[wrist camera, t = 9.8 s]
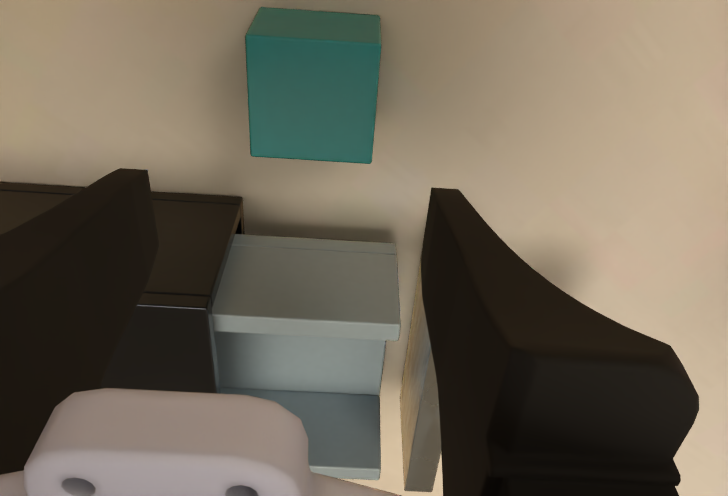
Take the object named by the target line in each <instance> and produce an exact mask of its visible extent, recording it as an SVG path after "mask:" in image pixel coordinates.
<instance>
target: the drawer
mask: <svg viewBox="0 0 728 496" xmlns="http://www.w3.org/2000/svg"><path fill="white" fill-rule="evenodd" d="M212 315H213V325H214V335H215V344H216V354H217V364H218V373H219V383H220V393H221V394H236V395H249V396H253V397H257V398H262V399H266V400H271V401H275V402H277V403H278V404H280V405H281V406H282V407H284V408H285V409H287V410H288V411H290V412H291V413H292V414H294V415H295V416H297V417H298V418H300V419H301V422H302V424H303V427H304V429H305V432H306V434H307V437H308V463H309V468H310V470H311V471H312V472H315V473H318V474H322V475H326V476H330V477H334V478H341V479H363V480H379V478H380V471H381V450H380V397H379V396H380V388H381V379H382V371H383V363H384V355H385V346H386V341H398V340H399V334H400V327H401V322H400V304H399V287H398V269H397V253H396V244H394V243H380V242H363V241H346V240H329V239H312V238H296V237H279V236H262V235H245V234H235V236H234V240H233V243H232V246H231V249H230V252H229V256H228V259H227V262H226V265H225V269H224V272H223V275H222V278H221V282H220V285H219V288H218V291H217V295H216V298H215V301H214V304H213V307H212ZM400 411H401V432H402V452H403V473H404V490H405V491H419V492H432V490H433V485H434V481H435V476H436V472H437V468H438V463H439V459H440V454H441V433H440V416H439V400H438V387H437V380H436V372H435V367H434V361H433V355H432V350H431V344H430V339H429V333H428V328H427V322H426V316H425V311H424V305H423V299H422V285H421V261H420V268H419V274H418V281H417V287H416V294H415V301H414V307H413V314H412V321H411V327H410V334H409V341H408V347H407V354H406V360H405V367H404V374H403V380H402V387H401V394H400Z"/></svg>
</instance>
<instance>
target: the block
mask: <svg viewBox="0 0 728 496" xmlns="http://www.w3.org/2000/svg"><path fill="white" fill-rule="evenodd" d="M245 44H246V66H247V88H248V110H249V132H250V154H251V156H254V157H270V158H286V159H302V160H318V161H334V162H349V163H365V164H370V163H371V162H372V152H373V140H374V128H375V116H376V104H377V92H378V80H379V68H380V56H381V27H380V16H378V15H365V14H351V13H337V12H323V11H309V10H295V9H280V8H266V7H261V8H259V10H258V12H257V14H256V16H255V18H254V20H253V22H252V24H251V26H250V28H249V30H248V31H247V33H246V36H245Z"/></svg>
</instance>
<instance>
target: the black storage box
mask: <svg viewBox="0 0 728 496" xmlns="http://www.w3.org/2000/svg"><path fill="white" fill-rule="evenodd" d="M84 188H85V187H69V186H52V185H36V184H20V183H3V182H0V235H1V234H3V233H5V232H7V231H10V230H12V229H14V228H16V227H18V226H19V225H21V224H23V223H25V222H27V221H29V220H31V219H32V218H34V217H36V216H38V215H40V214H42V213H43V212H45V211H47V210H49V209H51V208H53V207H54V206H56V205H58V204H59V203H61V202H63V201H64V200H66V199H68V198H69V197H71V196H73V195H74V194H76V193H78V192H79V191H81V190H83V189H84ZM151 196H152V202H153V209H154V215H155V221H156V228H157V234H158V240H159V247H158V251H157V254H156V258H155V262H154V265H153V268H152V271H151V274H150V278H149V281H148V283H147V285H146V287H145V289H144V292H143V294H142V296H141V298H140V300H139V302H138V304H137V306H136V308H135V311H134V313H133V315H132V317H131V319H130V321H129V323H128V325H127V327H126V329H125V331H124V333H123V335H122V337H121V339H120V341H119V343H118V345H117V348H116V350H115V352H114V354H113V356H112V358H111V360H110V363H109V365H108V368H107V370H106V372H105V375H104V378H103V381H102V384H101V387H100V389H104V388H118V389H137V390H157V391H177V392H196V393H216V394H221V393H220V383H219V373H218V364H217V354H216V344H215V335H214V325H213V315H212V307H213V304H214V301H215V298H216V295H217V291H218V288H219V285H220V282H221V278H222V275H223V272H224V269H225V265H226V262H227V259H228V256H229V252H230V249H231V246H232V243H233V240H234V236H235V234H245V233H244V216H243V199H242V197H233V196H216V195H200V194H184V193H167V192H151Z"/></svg>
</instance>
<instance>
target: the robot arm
mask: <svg viewBox="0 0 728 496" xmlns="http://www.w3.org/2000/svg"><path fill="white" fill-rule="evenodd" d="M158 247H159V240H158V234H157V228H156V221H155V215H154V209H153V202H152V196H151V190H150V183H149V177H148V170H138V169H122V168H120V169H118V170H115V171H113V172H111V173H110V174H108V175H106V176H104V177H103V178H101V179H99V180H98V181H96V182H94V183H93V184H91V185H89V186H88V187H86V188H84V189H83V190H81V191H79V192H78V193H76V194H74V195H73V196H71V197H69V198H68V199H66V200H64V201H63V202H61V203H59V204H58V205H56V206H54V207H53V208H51V209H49V210H47V211H45V212H43V213H42V214H40V215H38V216H36V217H34V218H32V219H31V220H29V221H27V222H25V223H23V224H21V225H19V226H18V227H16V228H14V229H12V230H10V231H7V232H5V233H3V234H1V235H0V496H401V495H397V494H394V493H390V492H386V491H382V490H379V489H375V488H371V487H367V486H364V485H360V484H356V483H352V482H349V481H345V480H341V479H337V478H334V477H330V476H326V475H322V474H318V473H315V472H312V471H311V470H310V468H309V463H308V437H307V434H306V432H305V429H304V427H303V424H302V422H301V419H300V418H298V417H297V416H295V415H294V414H292V413H291V412H290V411H288V410H287V409H285V408H284V407H282V406H281V405H280V404H278V403H277V402H275V401H271V400H266V399H262V398H257V397H253V396H249V395H236V394H216V393H196V392H177V391H157V390H137V389H118V388H104V389H100V387H101V384H102V381H103V378H104V375H105V372H106V370H107V368H108V365H109V363H110V360H111V358H112V356H113V354H114V352H115V350H116V348H117V345H118V343H119V341H120V339H121V337H122V335H123V333H124V331H125V329H126V327H127V325H128V323H129V321H130V319H131V317H132V315H133V313H134V311H135V308H136V306H137V304H138V302H139V300H140V298H141V296H142V294H143V292H144V289H145V287H146V285H147V283H148V281H149V278H150V274H151V271H152V268H153V265H154V262H155V258H156V254H157V251H158ZM421 285H422V299H423V305H424V311H425V316H426V322H427V328H428V333H429V339H430V344H431V350H432V355H433V361H434V367H435V372H436V380H437V387H438V400H439V416H440V433H441V452H442V474H443V496H679V495H678V492H677V490H676V488H675V486H678V484H679V483H680V474H679V472H678V469H677V467H676V465H675V463H674V461H673V457H674V456H675V454H676V452H677V451H678V449H679V447H680V446H681V444H682V442H683V440H684V439H685V437H686V435H687V434H688V432H689V430H690V429H691V427H692V425H693V424H694V421H695V419H696V416H697V413H698V411H699V396H698V394H697V392H696V390H695V388H694V386H693V384H692V382H691V380H690V378H689V376H688V375H687V373H686V371H685V369H684V367H683V365H682V363H681V362H680V360H679V358H678V357H677V355H676V354H675V352H674V350H673V349H672V348H671V346H670V345H668V344H665V343H663V342H661V341H658V340H656V339H653V338H651V337H649V336H646V335H644V334H641V333H639V332H637V331H634V330H632V329H630V328H627V327H625V326H623V325H621V324H619V323H617V322H615V321H613V320H611V319H609V318H607V317H605V316H604V315H602V314H600V313H598V312H596V311H594V310H593V309H591V308H589V307H587V306H585V305H584V304H582V303H581V302H579V301H577V300H576V299H574V298H573V297H571V296H570V295H568V294H566V293H565V292H563V291H562V290H560V289H559V288H558V287H556V286H555V285H553V284H552V283H550V282H549V281H548V280H547V279H545V278H544V277H543V276H541V275H540V274H539V273H538V272H536V271H535V270H534V269H532V268H531V267H530V266H529V265H528V264H527V263H525V262H524V261H523V260H522V259H521V258H520V257H519V256H518V255H517V254H516V253H515V252H514V251H513V250H511V249H510V248H509V247H508V246H507V245H506V244H505V243H504V242H503V241H502V240H501V239H500V238H499V237H498V235H497V234H496V233H495V232H494V231H493V230H492V229H491V228H490V227H489V226H488V224H487V223H486V222H485V221H484V220H483V219H482V217H481V216H480V215H479V214H478V213H477V211H476V210H475V209H474V208H473V207H472V205H471V204H470V203H469V202H468V200H467V199H466V198H465V197H464V195H463V194H462V193H461V192H460V191H459V190H458V189H444V188H431V195H430V201H429V208H428V214H427V221H426V228H425V234H424V241H423V248H422V254H421Z"/></svg>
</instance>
